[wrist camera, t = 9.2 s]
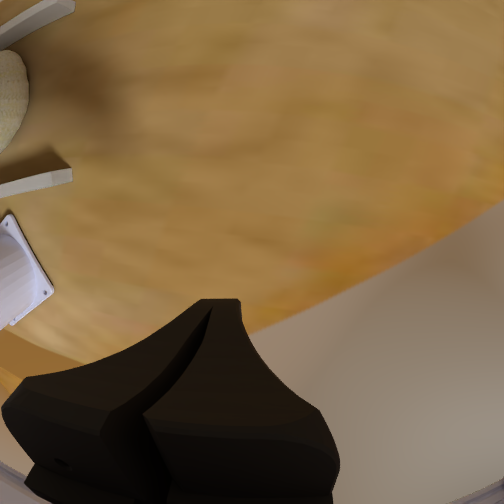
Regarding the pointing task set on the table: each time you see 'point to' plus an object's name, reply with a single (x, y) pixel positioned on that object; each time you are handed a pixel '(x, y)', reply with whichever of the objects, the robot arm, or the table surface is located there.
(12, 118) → the sea urchin shell
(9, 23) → the grey u-shaped bracket
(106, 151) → the table surface
